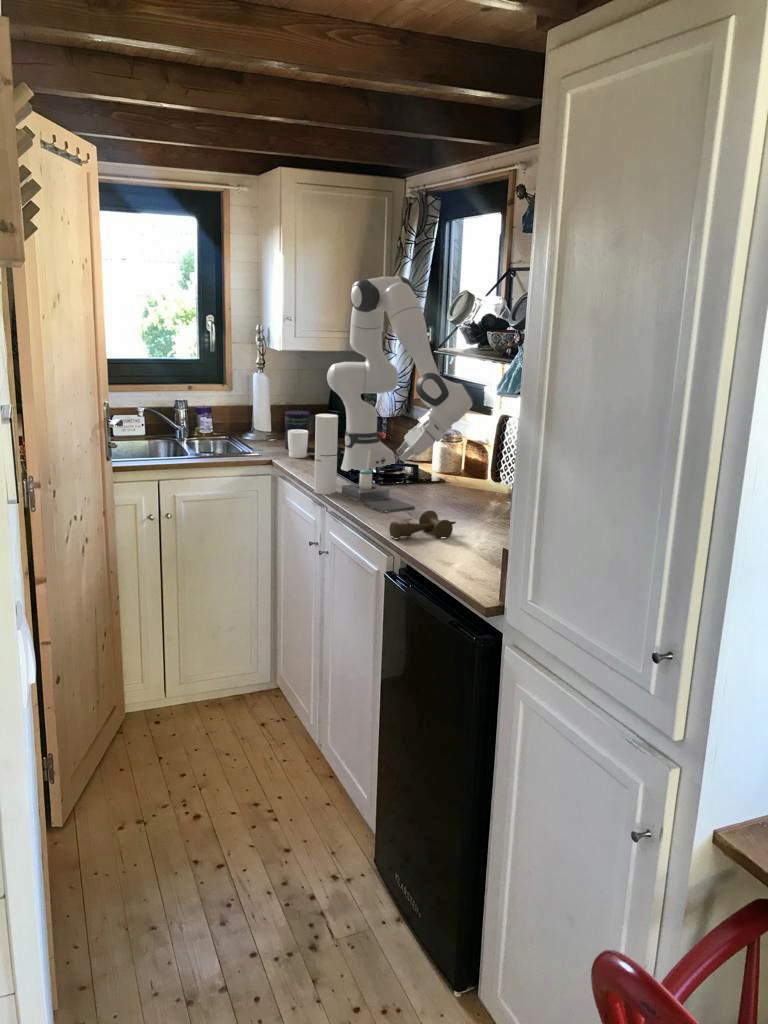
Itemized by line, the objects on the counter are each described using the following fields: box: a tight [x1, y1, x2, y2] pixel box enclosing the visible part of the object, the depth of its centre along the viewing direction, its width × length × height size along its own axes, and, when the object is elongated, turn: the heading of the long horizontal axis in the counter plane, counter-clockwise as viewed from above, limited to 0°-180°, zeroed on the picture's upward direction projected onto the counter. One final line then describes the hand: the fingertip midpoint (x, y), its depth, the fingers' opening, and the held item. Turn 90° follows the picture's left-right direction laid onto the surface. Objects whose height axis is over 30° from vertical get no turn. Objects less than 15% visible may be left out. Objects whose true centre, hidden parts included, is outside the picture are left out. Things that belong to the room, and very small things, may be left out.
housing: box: [341, 482, 390, 502], centre depth 270 cm, size 11×11×3 cm
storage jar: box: [284, 409, 310, 451], centre depth 340 cm, size 10×10×15 cm
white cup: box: [288, 429, 309, 459], centre depth 326 cm, size 8×8×10 cm
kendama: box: [388, 510, 457, 539], centre depth 230 cm, size 6×10×20 cm
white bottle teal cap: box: [358, 469, 373, 490], centre depth 269 cm, size 4×4×8 cm
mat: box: [364, 498, 416, 513], centre depth 259 cm, size 12×10×1 cm
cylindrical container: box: [313, 413, 339, 495], centre depth 271 cm, size 7×7×25 cm
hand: (399, 456), depth 267 cm, fingers open, 8 cm apart
